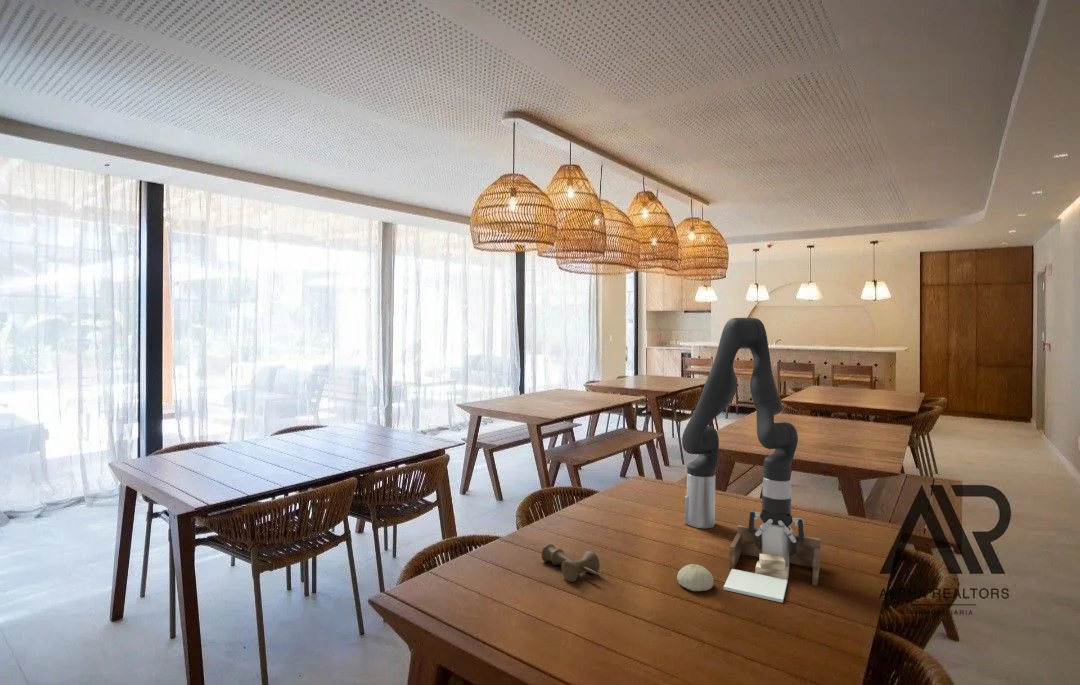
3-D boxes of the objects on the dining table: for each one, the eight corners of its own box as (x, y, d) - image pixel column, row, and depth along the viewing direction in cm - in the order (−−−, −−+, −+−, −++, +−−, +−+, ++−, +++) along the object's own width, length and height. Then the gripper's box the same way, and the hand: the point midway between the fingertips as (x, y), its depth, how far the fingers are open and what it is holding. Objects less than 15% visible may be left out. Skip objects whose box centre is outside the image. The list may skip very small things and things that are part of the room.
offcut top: (761, 568, 153) (761, 559, 153) (759, 562, 157) (759, 553, 157) (785, 570, 151) (785, 561, 151) (782, 564, 155) (782, 555, 155)
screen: (729, 568, 158) (730, 539, 157) (737, 551, 169) (738, 525, 169) (817, 585, 147) (818, 555, 147) (819, 567, 159) (820, 538, 158)
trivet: (723, 589, 145) (723, 586, 145) (731, 571, 155) (732, 568, 155) (782, 602, 138) (782, 599, 138) (787, 582, 149) (787, 579, 149)
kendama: (559, 557, 166) (610, 579, 150) (534, 567, 159) (584, 591, 144) (558, 537, 165) (609, 557, 150) (533, 546, 159) (583, 568, 144)
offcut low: (755, 575, 154) (755, 566, 154) (757, 570, 158) (757, 561, 158) (787, 582, 150) (787, 572, 150) (788, 576, 154) (788, 567, 154)
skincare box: (789, 567, 158) (790, 524, 158) (781, 572, 155) (782, 528, 155) (769, 560, 163) (769, 518, 162) (760, 564, 160) (761, 522, 160)
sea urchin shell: (714, 571, 151) (714, 559, 145) (713, 602, 146) (712, 590, 140) (679, 566, 154) (677, 554, 148) (676, 596, 149) (675, 584, 143)
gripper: (747, 493, 158) (746, 551, 159) (803, 501, 152) (802, 561, 152) (751, 487, 165) (750, 542, 165) (805, 494, 158) (804, 551, 159)
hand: (775, 551), depth 159 cm, fingers open, 8 cm apart
